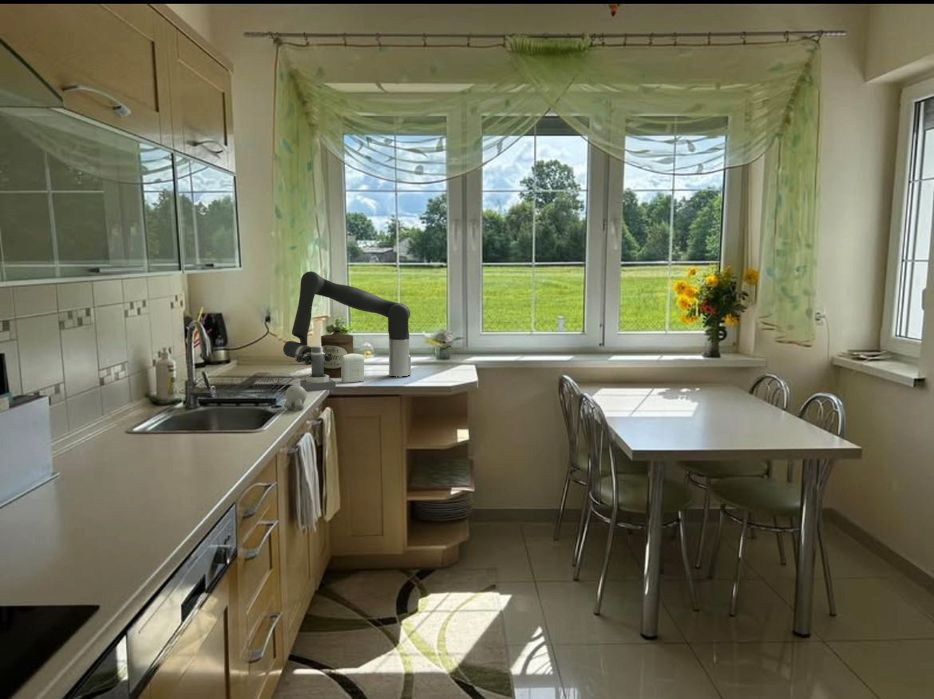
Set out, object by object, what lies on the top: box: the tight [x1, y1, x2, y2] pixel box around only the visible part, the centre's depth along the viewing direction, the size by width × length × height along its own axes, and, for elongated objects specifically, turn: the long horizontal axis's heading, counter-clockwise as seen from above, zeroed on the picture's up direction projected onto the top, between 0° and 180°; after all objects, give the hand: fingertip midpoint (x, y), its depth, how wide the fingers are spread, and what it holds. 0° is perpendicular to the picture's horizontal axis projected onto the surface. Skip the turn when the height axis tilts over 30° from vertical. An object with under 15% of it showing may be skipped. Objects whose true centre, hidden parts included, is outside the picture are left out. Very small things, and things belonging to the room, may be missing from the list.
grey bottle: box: [310, 345, 324, 378], centre depth 262 cm, size 5×5×14 cm
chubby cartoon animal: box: [283, 384, 307, 411], centre depth 227 cm, size 7×12×8 cm, turn 176°
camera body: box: [299, 374, 337, 392], centre depth 263 cm, size 12×9×5 cm
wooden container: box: [320, 326, 355, 379], centre depth 294 cm, size 15×15×22 cm
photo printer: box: [340, 353, 365, 384], centre depth 278 cm, size 10×4×12 cm, turn 123°
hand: (319, 359), depth 261 cm, fingers open, 8 cm apart
